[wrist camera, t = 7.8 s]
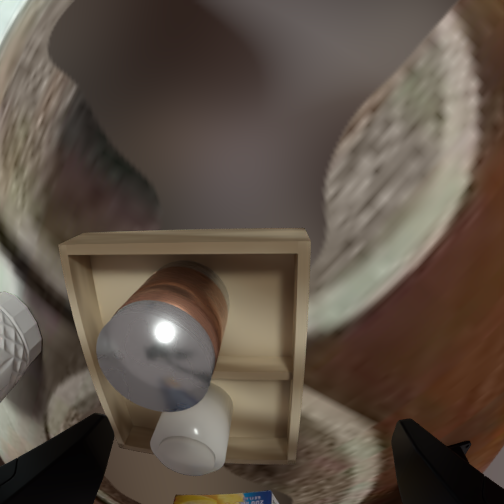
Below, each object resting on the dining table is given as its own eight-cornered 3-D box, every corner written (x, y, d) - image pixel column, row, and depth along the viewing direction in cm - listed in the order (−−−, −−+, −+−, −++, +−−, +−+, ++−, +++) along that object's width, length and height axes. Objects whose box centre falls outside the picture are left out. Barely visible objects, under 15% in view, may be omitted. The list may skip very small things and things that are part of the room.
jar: (235, 426, 22) (226, 483, 17) (175, 422, 22) (156, 474, 17) (231, 381, 21) (220, 441, 15) (164, 376, 21) (139, 431, 16)
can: (228, 259, 18) (205, 314, 12) (232, 339, 20) (217, 417, 13) (141, 259, 19) (83, 308, 12) (153, 336, 20) (111, 405, 13)
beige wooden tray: (293, 436, 23) (295, 464, 20) (131, 424, 24) (119, 447, 21) (304, 228, 18) (310, 241, 15) (83, 232, 19) (58, 244, 16)
